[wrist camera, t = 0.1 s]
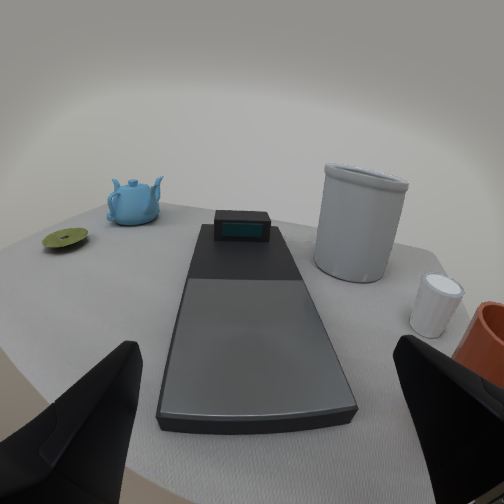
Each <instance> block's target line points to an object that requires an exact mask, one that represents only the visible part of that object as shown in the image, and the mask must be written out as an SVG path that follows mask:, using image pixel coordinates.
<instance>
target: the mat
mask: <svg viewBox="0 0 504 504" xmlns="http://www.w3.org/2000/svg"><path fill="white" fill-rule="evenodd" d="M87 234H88V231H87V230H86V229H83V228H70V229H64V230H60V231H57V232H54V233H52V234H50V235H48V236H47V237H45V238H44V240H43V241H42V244H43V245H44V246H46V247H56V248H57V247H63V246H67V245H71V244H73V243H75V242H78V241H80V240H82V239H83V238H85V237H86V236H87Z"/></svg>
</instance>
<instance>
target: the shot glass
mask: <svg viewBox="0 0 504 504" xmlns="http://www.w3.org/2000/svg"><path fill="white" fill-rule="evenodd" d="M463 295H464V289H463V288H462V286H461V285H460V284H459V283H458V282H456V281H455V280H454V279H452V278H450V277H448V276H446V275H443V274H440V273H435V272H426V273H424V274H423V275H422V277H421V281H420V285H419V289H418V293H417V296H416V300H415V303H414V307H413V310H412V313H411V317H410V322H409V323H410V325H411V327H412V328H413V330H414V331H415V332H417V333H418V334H420V335H422V336H424V337H427V338H437V337H439V336H440V335H441V334H442V332H443V330H444V329H445V327H446V325H447V324H448V322H449V320H450V319H451V317H452V315H453V313H454V312H455V310H456V308H457V306H458V305H459V303H460V301H461V299H462V297H463Z"/></svg>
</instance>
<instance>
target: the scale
mask: <svg viewBox="0 0 504 504" xmlns="http://www.w3.org/2000/svg"><path fill="white" fill-rule="evenodd" d="M357 411H358V406H357V404H356V401H355V399H354V396H353V394H352V391H351V389H350V387H349V384H348V382H347V379H346V377H345V374H344V372H343V370H342V367H341V365H340V363H339V360H338V358H337V355H336V353H335V351H334V348H333V346H332V344H331V341H330V339H329V337H328V335H327V332H326V330H325V328H324V325H323V323H322V321H321V319H320V316H319V314H318V312H317V310H316V307H315V305H314V303H313V301H312V299H311V296H310V294H309V292H308V290H307V288H306V285H305V283H304V281H303V279H302V277H301V275H300V272H299V270H298V268H297V266H296V264H295V262H294V260H293V258H292V255H291V253H290V251H289V249H288V247H287V245H286V243H285V241H284V239H283V237H282V234H281V232H280V230H279V228H278V227H275V226H271V220H270V218H269V216H268V213H267V212H257V211H232V210H216V213H215V218H214V224H202V226H201V230H200V233H199V236H198V240H197V243H196V247H195V250H194V254H193V257H192V261H191V264H190V268H189V271H188V275H187V279H186V283H185V286H184V290H183V294H182V298H181V302H180V306H179V310H178V314H177V318H176V322H175V326H174V330H173V335H172V339H171V343H170V348H169V352H168V357H167V361H166V366H165V371H164V376H163V380H162V385H161V390H160V396H159V401H158V406H157V412H156V419H157V421H158V423H159V426H160V428H161V430H164V431H173V432H184V433H198V434H229V435H235V434H267V433H281V432H292V431H301V430H309V429H317V428H323V427H330V426H336V425H341V424H346V423H350V421H351V420H352V418H353V417H354V415H355V414H356V412H357Z"/></svg>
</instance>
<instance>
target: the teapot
mask: <svg viewBox="0 0 504 504" xmlns="http://www.w3.org/2000/svg"><path fill="white" fill-rule="evenodd" d="M162 178H163V176H162V177H159V178H157V179H156V181H155V184H154V186H152V187H151V188H150V187H149V186H148V185H147V184H137V183H138V180H129V181H128V183H129V185H125V186H121V187H120V185H119V182H118V181H117V180H116V179H112V181H113V183H114V187H115V190H114V192H113V193H111V194H110V195H109V197H108V206H109V209H110V212H109V213H108V214H107V219H108V220H109V221H115V222H116V223H117V224H120V225H139V224H144V223H147V222H150V221H152V220H153V219H154V218H155V217H156V216H157V215H158V213H159V204H158V201H159V199H160V182H161V180H162ZM113 196H114V198H113V201H112V197H113ZM110 216H111V218H110Z"/></svg>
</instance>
